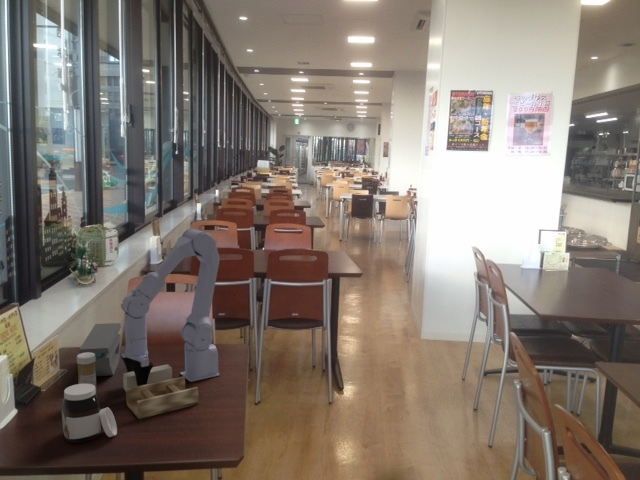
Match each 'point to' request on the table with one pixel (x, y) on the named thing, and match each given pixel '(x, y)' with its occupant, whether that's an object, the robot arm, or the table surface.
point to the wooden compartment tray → (160, 397)
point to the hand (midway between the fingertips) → (137, 383)
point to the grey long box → (104, 347)
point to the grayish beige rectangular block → (154, 376)
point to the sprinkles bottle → (86, 369)
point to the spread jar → (85, 414)
